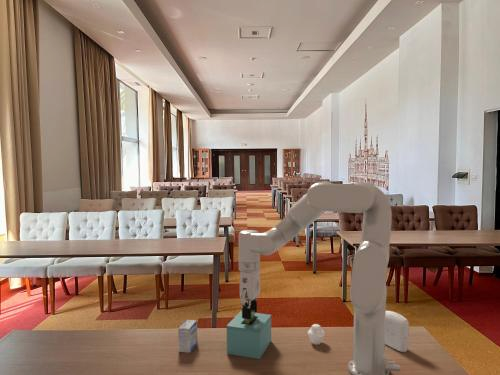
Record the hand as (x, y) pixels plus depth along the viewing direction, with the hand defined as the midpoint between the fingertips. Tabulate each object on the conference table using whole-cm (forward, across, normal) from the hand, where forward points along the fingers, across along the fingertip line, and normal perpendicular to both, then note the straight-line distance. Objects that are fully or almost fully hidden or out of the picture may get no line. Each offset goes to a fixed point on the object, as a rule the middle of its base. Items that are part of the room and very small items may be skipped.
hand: (249, 314), depth 142 cm
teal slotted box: (+12, 0, 0) cm, 12 cm away
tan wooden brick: (+4, 0, 0) cm, 4 cm away
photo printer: (+12, +17, -49) cm, 53 cm away
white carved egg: (+12, +11, -22) cm, 27 cm away
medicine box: (+12, -7, +21) cm, 25 cm away
